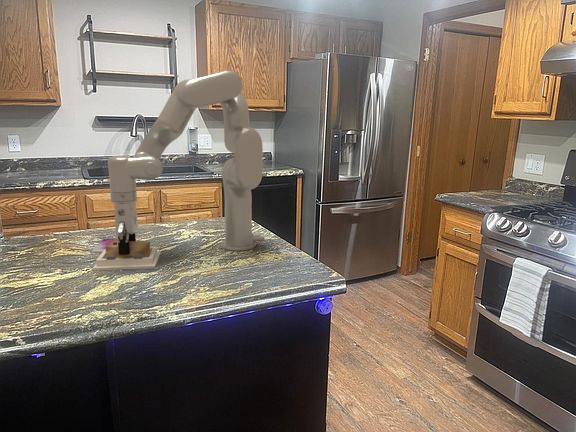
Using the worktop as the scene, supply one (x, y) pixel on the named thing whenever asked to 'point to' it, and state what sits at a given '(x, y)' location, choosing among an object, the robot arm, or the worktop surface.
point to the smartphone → (102, 245)
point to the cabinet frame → (127, 261)
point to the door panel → (135, 249)
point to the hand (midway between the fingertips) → (127, 249)
